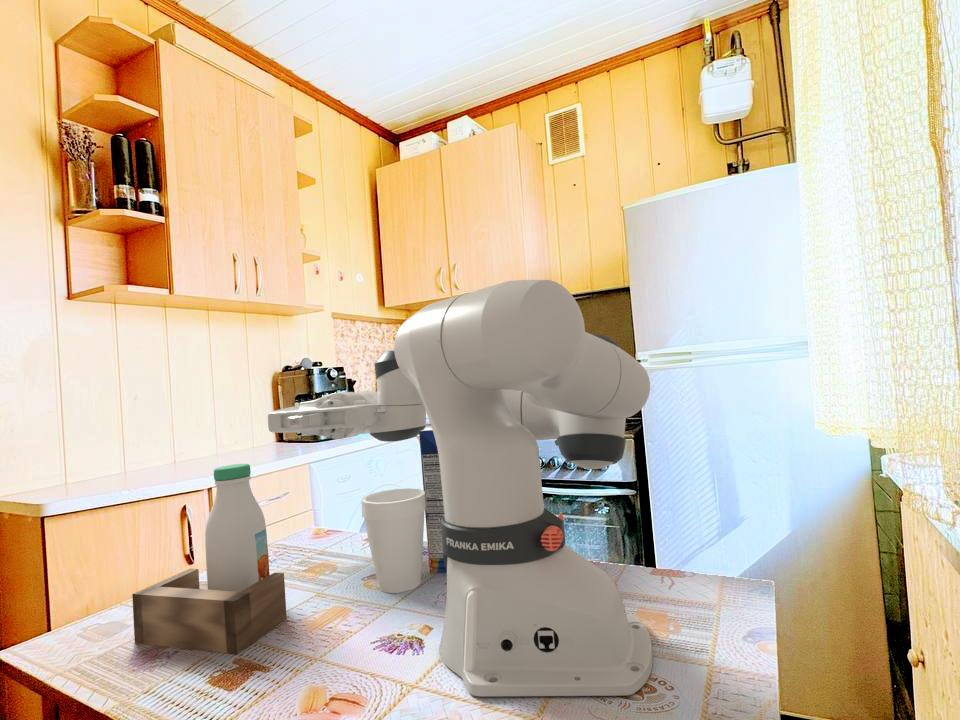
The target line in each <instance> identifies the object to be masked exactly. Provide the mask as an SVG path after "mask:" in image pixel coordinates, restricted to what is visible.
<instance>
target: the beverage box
mask: <svg viewBox="0 0 960 720" xmlns="http://www.w3.org/2000/svg"><path fill="white" fill-rule="evenodd" d="M419 447H420V448H419V449H420V459H421V460H420V461H421V474H422V475H421V476H422V485H423V489H422V490H423V491H425V501H426V510H425V511H424V516H425V525H426V540H427V552H428V567H429V574H447V568H446V567H445V565H444V558H443V552H442V542H441V533H442V531H441V519H442V517H443V516H444V504H443V493H442V483H441V473H440V463H439V455H438V449H437V444H436V440H435V436H434V433H433V430H432V427H431V426H430V427H427V428H424V430H421V431H419Z"/></svg>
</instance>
